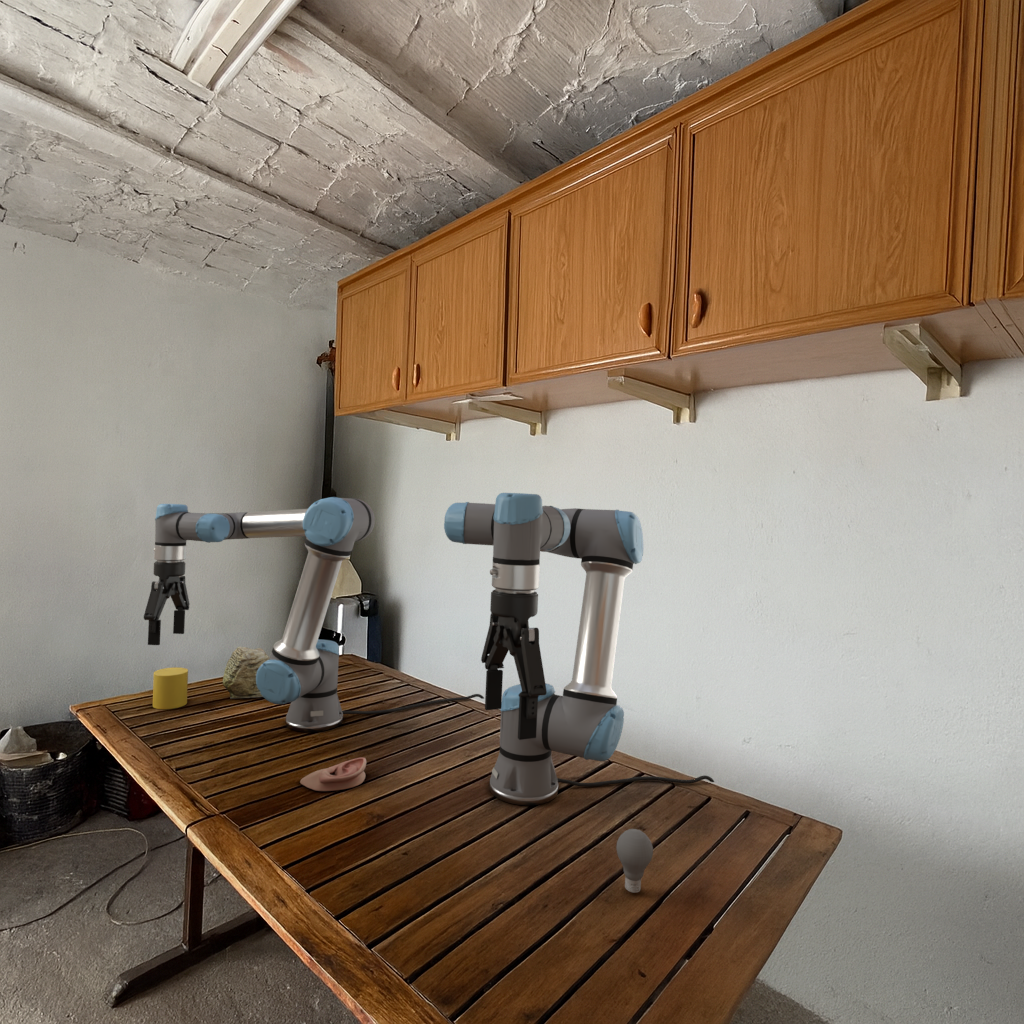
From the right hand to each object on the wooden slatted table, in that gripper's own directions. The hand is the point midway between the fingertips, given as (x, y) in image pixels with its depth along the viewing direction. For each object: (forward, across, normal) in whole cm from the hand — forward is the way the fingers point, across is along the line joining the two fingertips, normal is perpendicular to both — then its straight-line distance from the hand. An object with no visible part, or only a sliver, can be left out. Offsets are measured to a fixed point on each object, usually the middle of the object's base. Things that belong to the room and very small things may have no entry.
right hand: (508, 722), depth 101 cm
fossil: (+29, -120, -34) cm, 128 cm away
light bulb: (+29, +5, +22) cm, 36 cm away
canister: (+29, -117, -57) cm, 134 cm away
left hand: (+6, -102, -57) cm, 117 cm away
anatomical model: (+29, -52, -19) cm, 62 cm away
